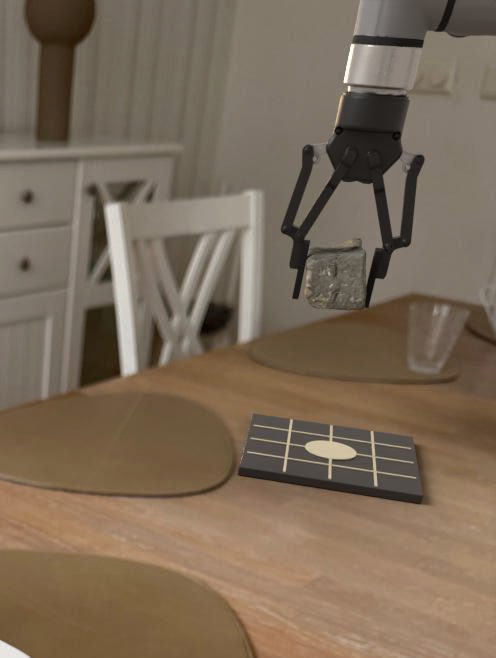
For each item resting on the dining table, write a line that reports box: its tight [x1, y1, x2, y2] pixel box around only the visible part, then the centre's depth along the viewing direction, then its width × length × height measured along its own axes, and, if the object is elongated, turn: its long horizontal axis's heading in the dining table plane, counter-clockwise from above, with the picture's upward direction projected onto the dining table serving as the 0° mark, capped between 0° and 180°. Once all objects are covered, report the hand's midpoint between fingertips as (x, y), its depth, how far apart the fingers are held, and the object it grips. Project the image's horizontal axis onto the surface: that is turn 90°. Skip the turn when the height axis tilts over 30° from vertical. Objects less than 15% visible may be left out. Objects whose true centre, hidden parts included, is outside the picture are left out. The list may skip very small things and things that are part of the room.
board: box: [237, 412, 424, 505], centre depth 117 cm, size 20×20×1 cm
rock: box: [304, 237, 367, 311], centre depth 120 cm, size 17×7×10 cm
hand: (330, 300), depth 122 cm, fingers closed on rock, 8 cm apart
